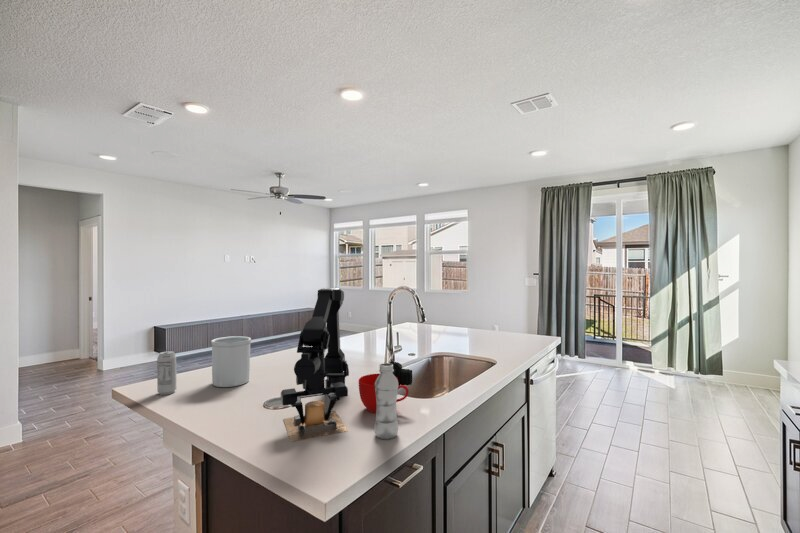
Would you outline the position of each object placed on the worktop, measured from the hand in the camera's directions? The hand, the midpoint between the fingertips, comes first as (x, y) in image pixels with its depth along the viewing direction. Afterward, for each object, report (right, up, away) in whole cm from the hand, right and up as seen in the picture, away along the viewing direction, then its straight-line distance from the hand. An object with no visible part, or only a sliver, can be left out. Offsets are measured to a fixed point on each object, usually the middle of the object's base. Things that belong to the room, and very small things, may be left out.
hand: (314, 422), depth 110 cm
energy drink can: (-62, -2, +30) cm, 69 cm away
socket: (0, -1, 0) cm, 1 cm away
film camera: (+25, -1, +38) cm, 45 cm away
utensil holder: (-44, -1, +42) cm, 61 cm away
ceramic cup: (+20, -1, +12) cm, 23 cm away
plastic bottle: (+21, -1, -7) cm, 23 cm away
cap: (0, -1, 0) cm, 1 cm away
